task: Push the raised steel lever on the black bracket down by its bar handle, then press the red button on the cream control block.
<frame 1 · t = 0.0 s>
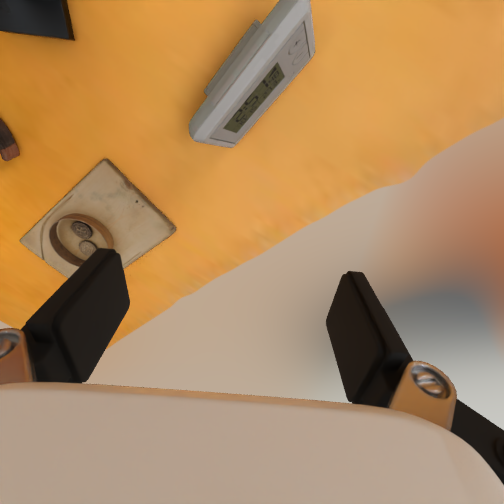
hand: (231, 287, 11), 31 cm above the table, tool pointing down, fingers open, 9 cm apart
digital clock: (255, 87, 34), on the table
board: (97, 234, 46), on the table
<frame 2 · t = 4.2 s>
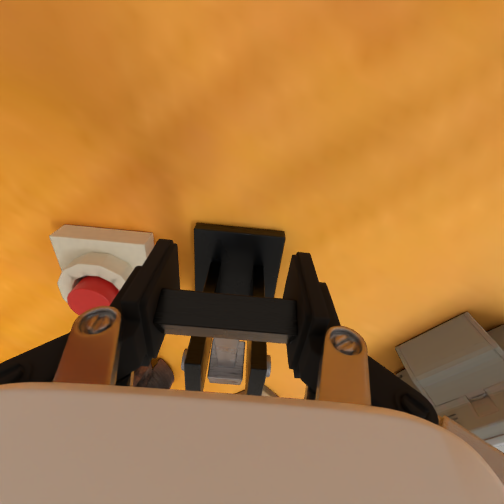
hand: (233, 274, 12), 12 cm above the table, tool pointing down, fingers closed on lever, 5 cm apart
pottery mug: (140, 364, 36), on the table
lever: (227, 348, 14), point 12 cm above the table, hinge at 25.0°, touching gripper
control block: (117, 267, 26), on the table
button: (94, 298, 23), point 4 cm above the table, slide at 0.1 cm
bracket: (236, 274, 27), on the table
digital clock: (443, 344, 32), on the table
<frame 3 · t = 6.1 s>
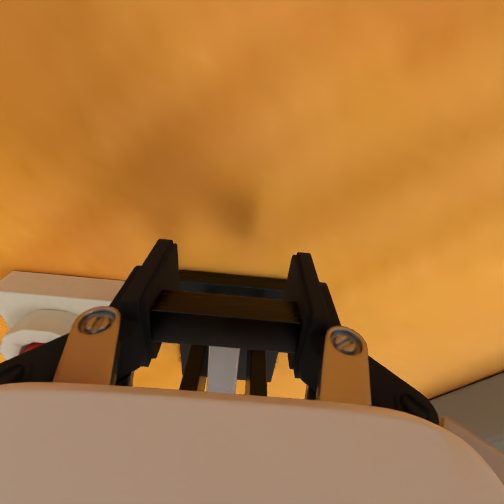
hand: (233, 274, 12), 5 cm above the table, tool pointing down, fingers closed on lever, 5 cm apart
lever: (218, 421, 11), point 9 cm above the table, hinge at -10.4°, touching gripper
control block: (84, 318, 21), on the table
button: (47, 368, 18), point 4 cm above the table, slide at 0.1 cm
bracket: (231, 327, 22), on the table
digital clock: (478, 400, 27), on the table
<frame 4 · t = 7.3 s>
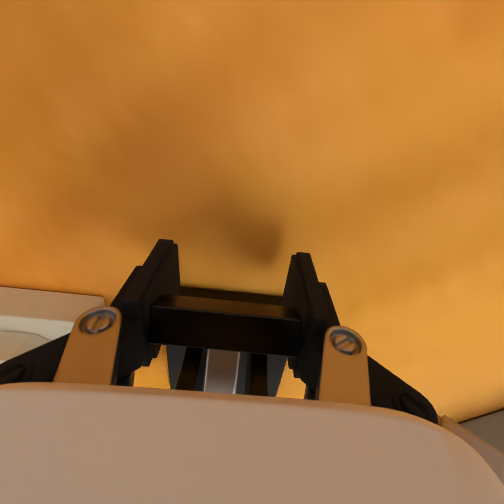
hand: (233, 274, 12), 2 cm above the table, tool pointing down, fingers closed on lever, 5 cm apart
lever: (212, 460, 10), point 8 cm above the table, hinge at -26.0°, touching gripper
control block: (59, 337, 19), on the table
bracket: (228, 348, 19), on the table
digital clock: (502, 427, 24), on the table
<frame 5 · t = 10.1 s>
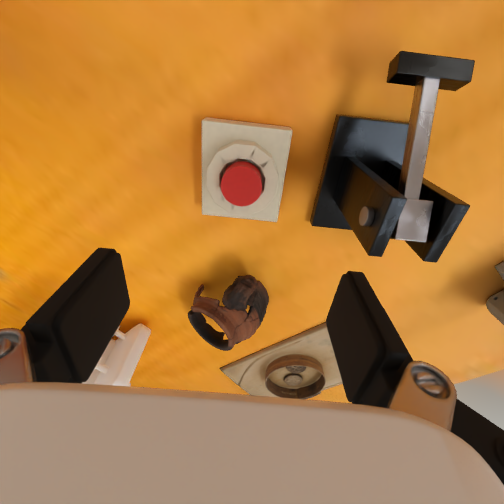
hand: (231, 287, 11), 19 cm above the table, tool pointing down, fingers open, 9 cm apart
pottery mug: (235, 289, 36), on the table
lever: (415, 154, 18), point 8 cm above the table, hinge at -26.1°
control block: (244, 170, 27), on the table
cable organizer: (102, 325, 41), on the table
button: (241, 184, 23), point 4 cm above the table, slide at 0.1 cm
bracket: (359, 177, 27), on the table
board: (301, 365, 45), on the table
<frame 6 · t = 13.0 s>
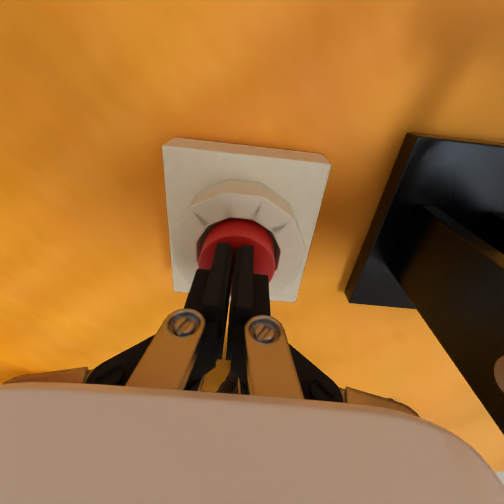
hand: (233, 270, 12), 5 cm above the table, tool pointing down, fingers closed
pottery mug: (230, 372, 26), on the table
control block: (242, 220, 16), on the table
button: (237, 258, 13), point 4 cm above the table, slide at -0.2 cm, touching gripper
bracket: (431, 232, 17), on the table
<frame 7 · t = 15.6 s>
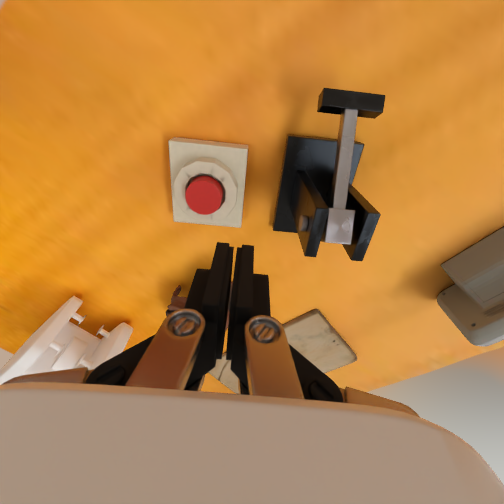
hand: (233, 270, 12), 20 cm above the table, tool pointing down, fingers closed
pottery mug: (210, 290, 40), on the table
lever: (341, 171, 22), point 8 cm above the table, hinge at -26.1°
control block: (210, 181, 31), on the table
cable organizer: (88, 325, 44), on the table
button: (204, 195, 27), point 4 cm above the table, slide at 0.1 cm
bracket: (312, 188, 31), on the table
digital clock: (482, 262, 37), on the table
board: (276, 359, 49), on the table
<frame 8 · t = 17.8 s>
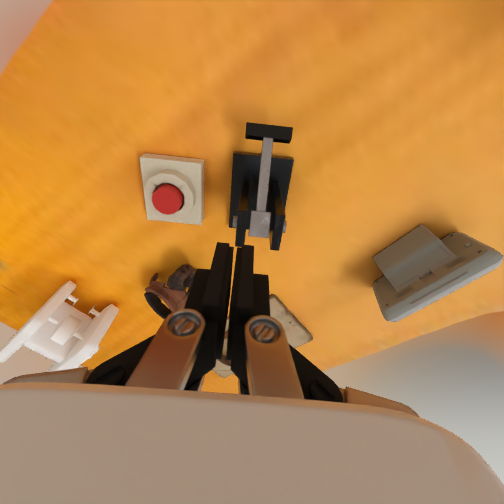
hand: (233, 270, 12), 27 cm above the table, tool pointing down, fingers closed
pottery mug: (183, 277, 47), on the table
lever: (263, 182, 29), point 8 cm above the table, hinge at -26.1°
control block: (176, 188, 38), on the table
cable organizer: (82, 306, 52), on the table
button: (167, 199, 34), point 4 cm above the table, slide at 0.1 cm
bracket: (258, 193, 38), on the table
digital clock: (407, 255, 44), on the table
board: (244, 339, 56), on the table
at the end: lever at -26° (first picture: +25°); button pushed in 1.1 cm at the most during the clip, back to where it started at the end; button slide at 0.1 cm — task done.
